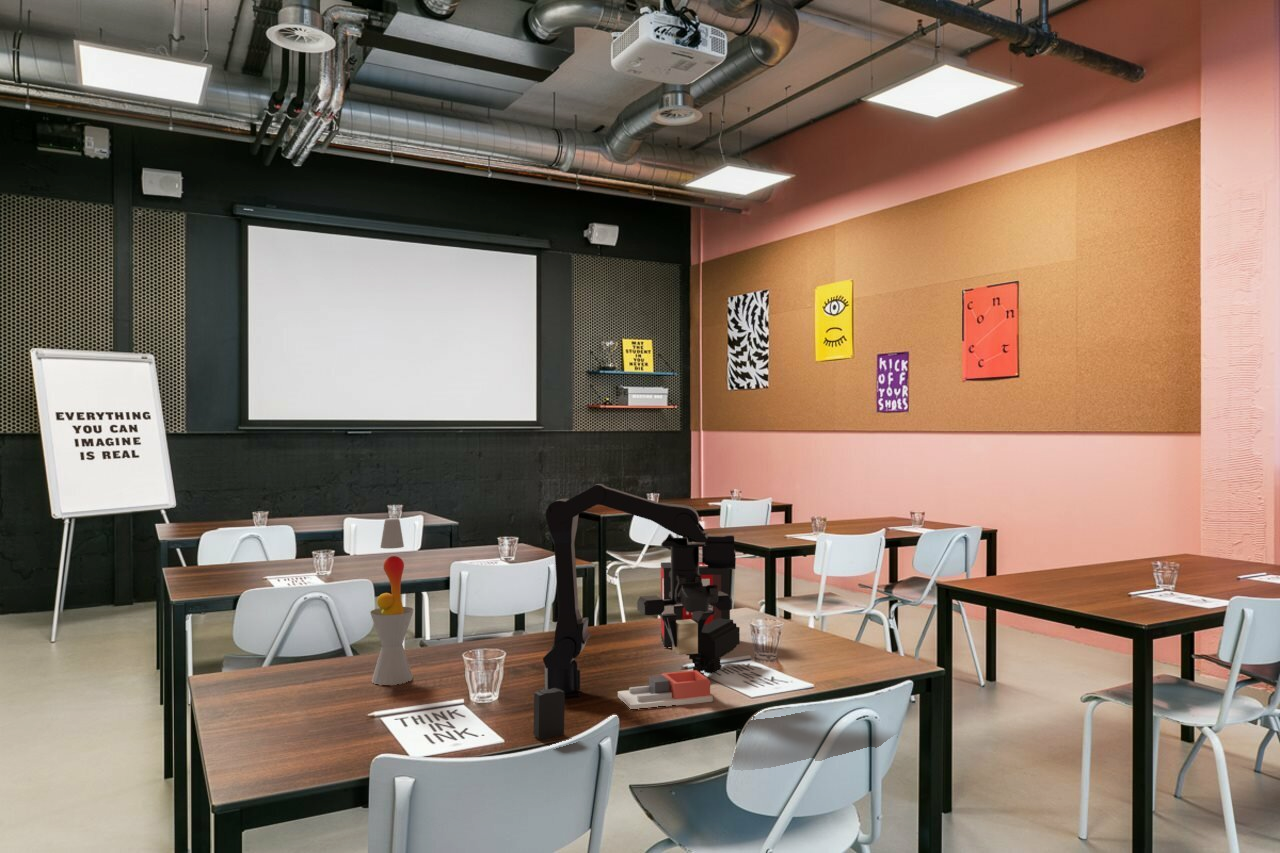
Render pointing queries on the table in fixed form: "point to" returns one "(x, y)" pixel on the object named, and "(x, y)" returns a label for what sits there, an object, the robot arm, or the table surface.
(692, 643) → the block
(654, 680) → the toggle
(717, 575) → the cleaning product box
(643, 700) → the slide switch base
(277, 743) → the table surface
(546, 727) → the ink cartridge
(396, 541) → the lava lamp
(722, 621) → the security camera
